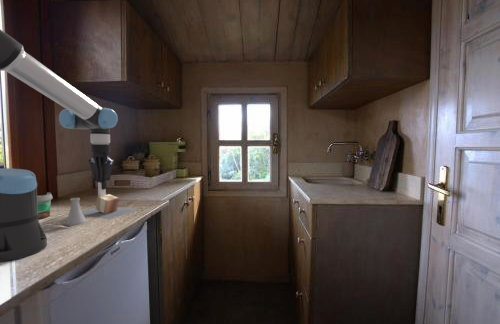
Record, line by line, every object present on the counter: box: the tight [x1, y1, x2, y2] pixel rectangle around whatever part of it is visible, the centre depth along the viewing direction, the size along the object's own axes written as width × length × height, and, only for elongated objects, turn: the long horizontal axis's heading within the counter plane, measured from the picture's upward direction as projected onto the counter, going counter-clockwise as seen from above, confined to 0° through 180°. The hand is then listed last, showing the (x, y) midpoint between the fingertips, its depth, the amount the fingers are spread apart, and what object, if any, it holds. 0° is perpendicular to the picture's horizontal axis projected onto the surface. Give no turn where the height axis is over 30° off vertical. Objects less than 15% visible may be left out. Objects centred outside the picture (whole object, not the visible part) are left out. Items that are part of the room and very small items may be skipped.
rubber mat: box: [82, 206, 139, 220], centre depth 114 cm, size 16×22×1 cm
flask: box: [65, 197, 87, 227], centre depth 98 cm, size 7×7×10 cm
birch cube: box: [95, 193, 120, 214], centre depth 114 cm, size 6×6×6 cm
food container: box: [37, 191, 54, 221], centre depth 103 cm, size 12×6×10 cm, turn 168°
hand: (102, 196), depth 114 cm, fingers closed
